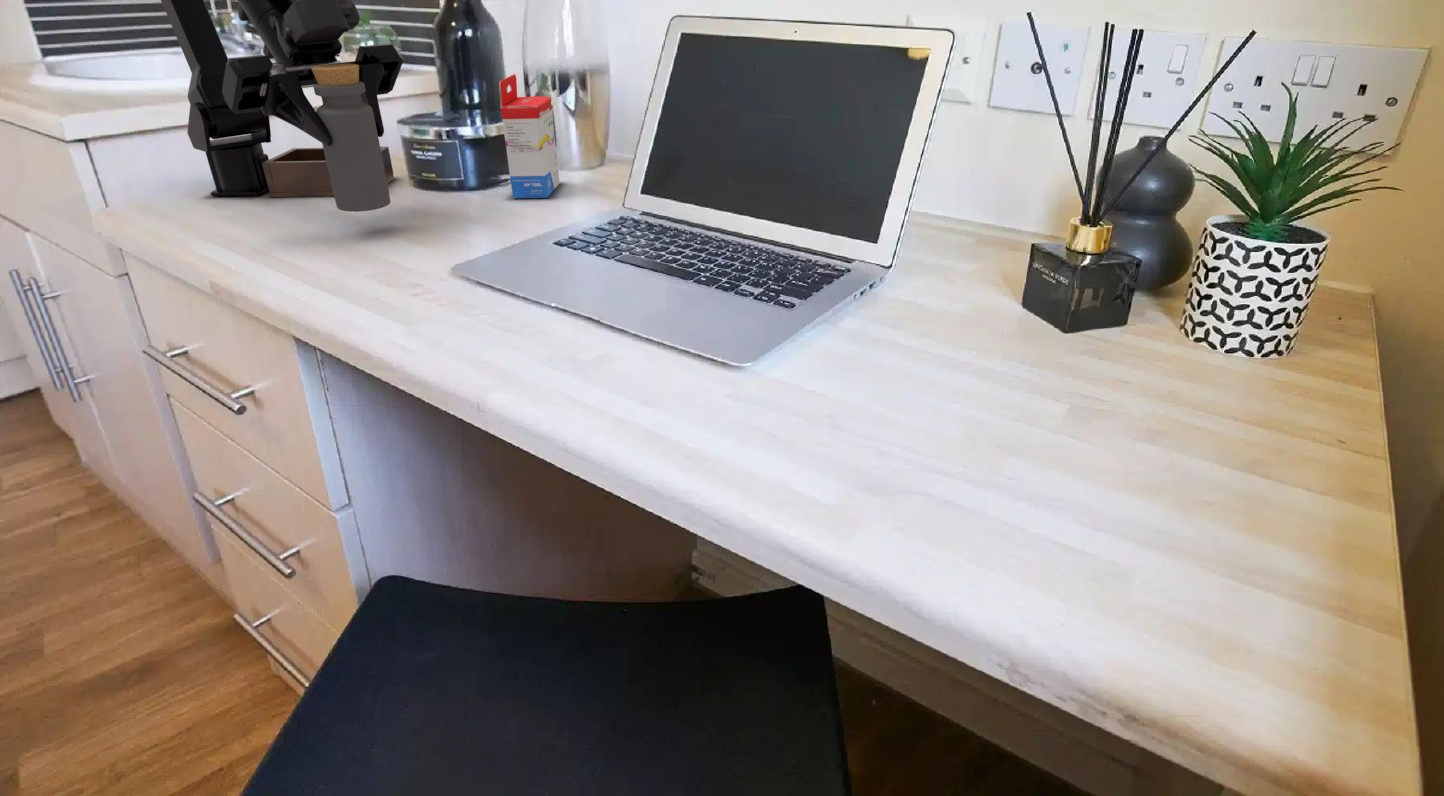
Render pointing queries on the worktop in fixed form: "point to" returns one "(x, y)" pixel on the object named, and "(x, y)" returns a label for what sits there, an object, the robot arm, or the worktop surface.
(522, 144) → the ink box
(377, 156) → the bottle
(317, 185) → the crate
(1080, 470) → the worktop surface
